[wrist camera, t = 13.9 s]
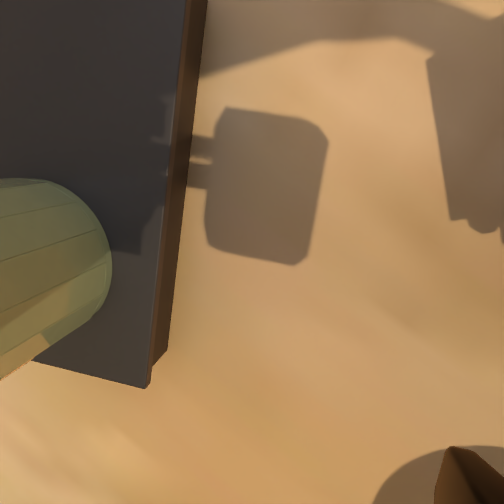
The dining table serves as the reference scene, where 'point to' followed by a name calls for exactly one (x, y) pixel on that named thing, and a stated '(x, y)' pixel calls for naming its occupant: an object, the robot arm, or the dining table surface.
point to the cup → (47, 268)
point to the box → (108, 151)
